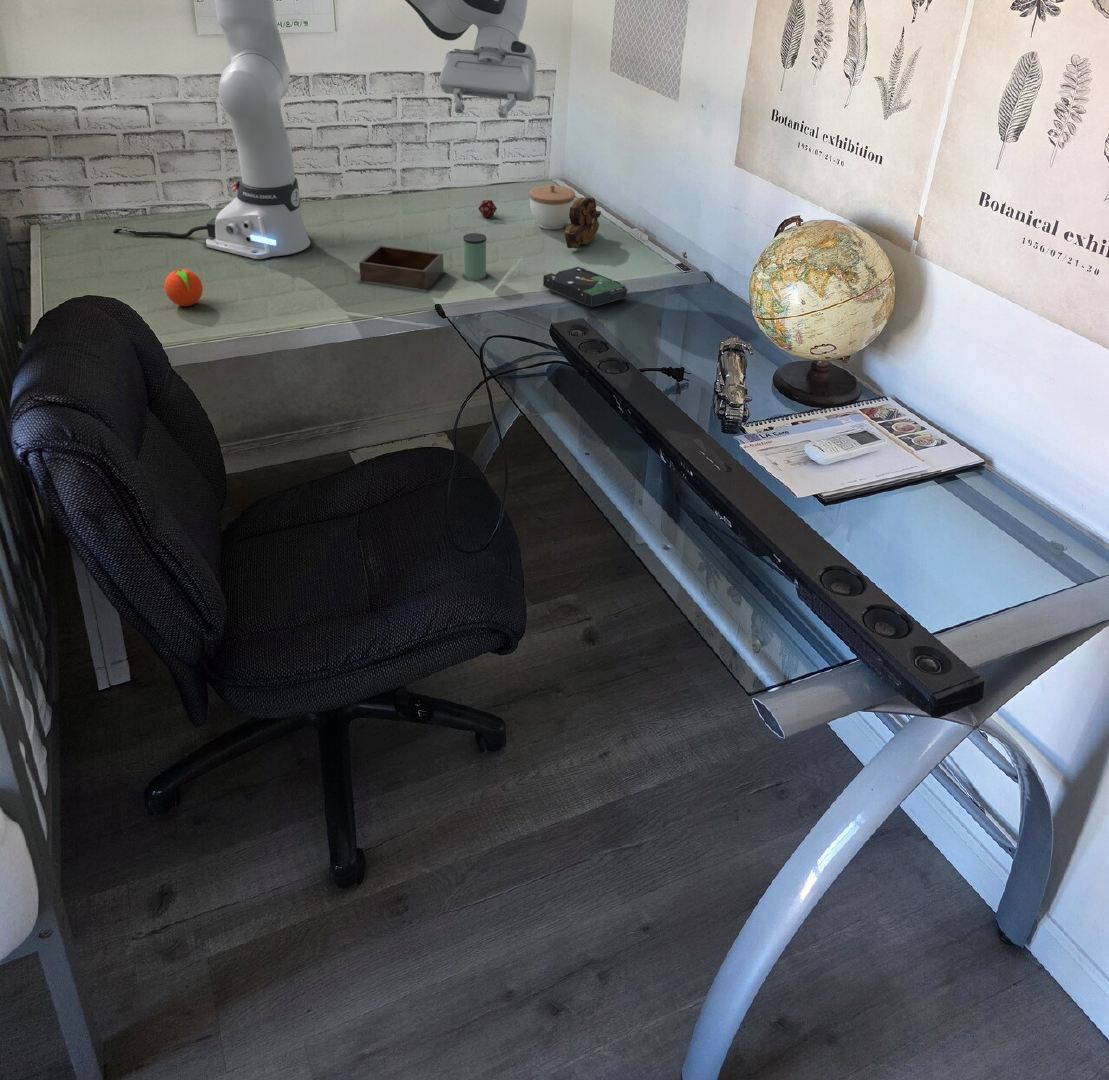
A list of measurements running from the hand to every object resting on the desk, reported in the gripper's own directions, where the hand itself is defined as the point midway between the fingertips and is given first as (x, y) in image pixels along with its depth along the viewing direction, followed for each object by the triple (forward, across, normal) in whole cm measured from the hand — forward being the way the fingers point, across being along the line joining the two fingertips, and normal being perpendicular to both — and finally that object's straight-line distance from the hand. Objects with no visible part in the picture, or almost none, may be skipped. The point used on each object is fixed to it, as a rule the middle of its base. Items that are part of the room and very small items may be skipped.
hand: (480, 114), depth 204 cm
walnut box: (+34, -11, +7) cm, 37 cm away
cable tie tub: (+30, +3, +11) cm, 32 cm away
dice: (+5, -6, +37) cm, 38 cm away
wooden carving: (+11, +20, +30) cm, 38 cm away
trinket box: (+5, +10, +37) cm, 39 cm away
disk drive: (+31, +27, +10) cm, 43 cm away
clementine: (+54, -45, -12) cm, 71 cm away
